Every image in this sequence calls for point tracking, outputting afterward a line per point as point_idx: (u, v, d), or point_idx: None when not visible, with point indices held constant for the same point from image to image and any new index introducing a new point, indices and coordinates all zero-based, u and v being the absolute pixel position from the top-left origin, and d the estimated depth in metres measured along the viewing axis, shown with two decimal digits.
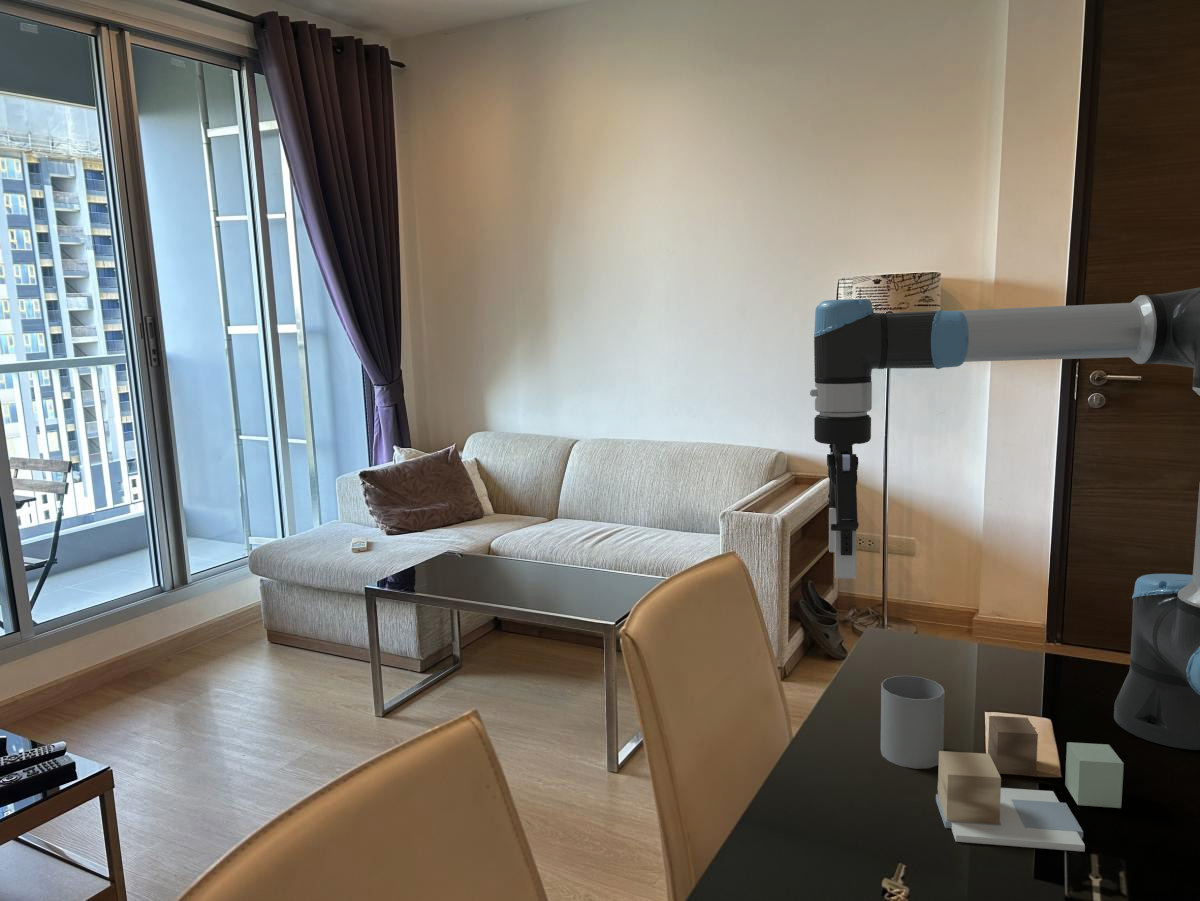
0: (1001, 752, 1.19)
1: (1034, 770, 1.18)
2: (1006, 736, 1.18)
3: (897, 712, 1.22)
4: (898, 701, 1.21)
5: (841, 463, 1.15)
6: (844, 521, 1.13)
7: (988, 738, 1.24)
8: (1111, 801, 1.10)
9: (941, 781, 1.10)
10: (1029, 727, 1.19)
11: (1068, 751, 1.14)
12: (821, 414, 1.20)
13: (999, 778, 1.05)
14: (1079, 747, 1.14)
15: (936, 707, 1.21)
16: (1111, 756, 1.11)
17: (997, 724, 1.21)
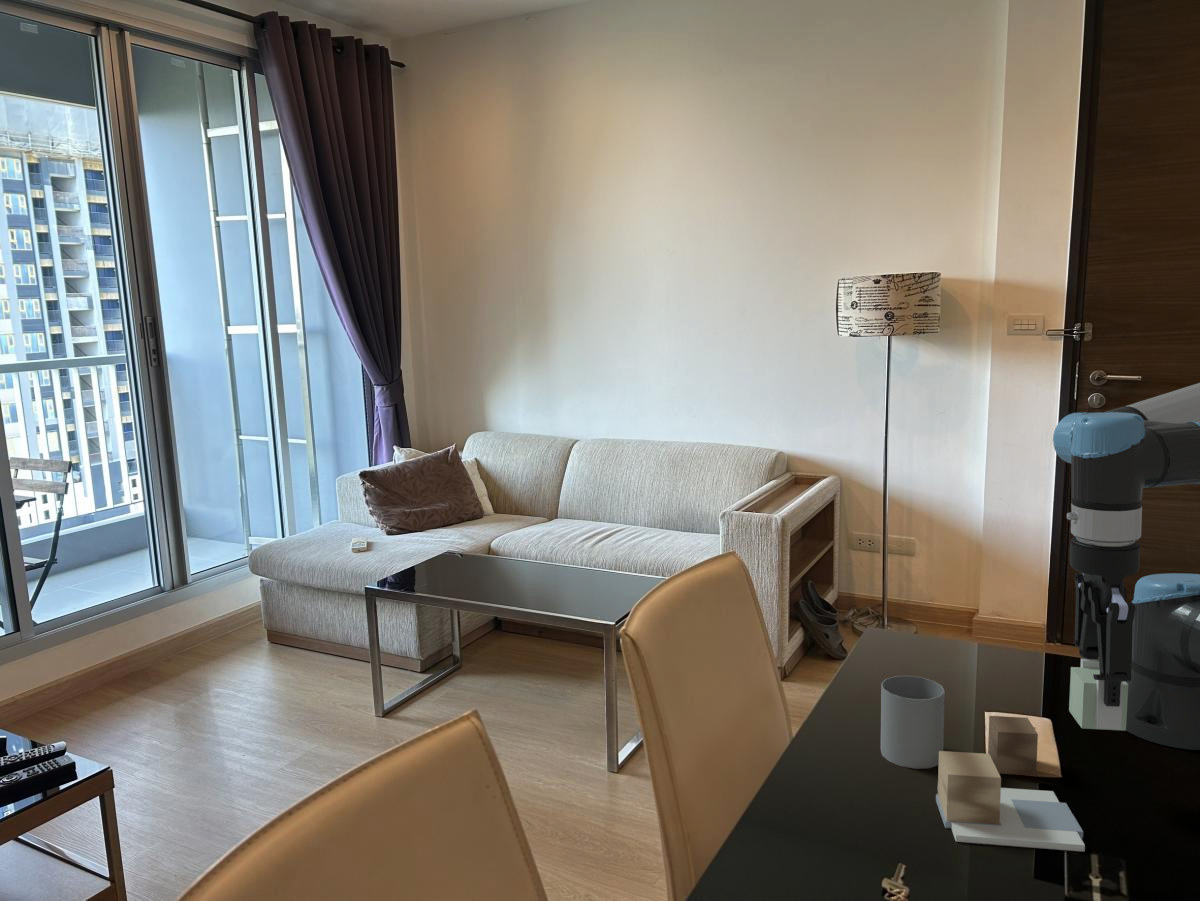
0: (1001, 752, 1.19)
1: (1034, 770, 1.18)
2: (1006, 736, 1.18)
3: (897, 712, 1.22)
4: (898, 702, 1.21)
5: (1117, 614, 1.03)
6: (1115, 673, 1.05)
7: (988, 738, 1.24)
8: None
9: (941, 781, 1.10)
10: (1030, 727, 1.19)
11: (1072, 676, 1.13)
12: (1082, 541, 1.08)
13: (999, 778, 1.05)
14: (1083, 671, 1.12)
15: (936, 707, 1.21)
16: None
17: (997, 724, 1.21)
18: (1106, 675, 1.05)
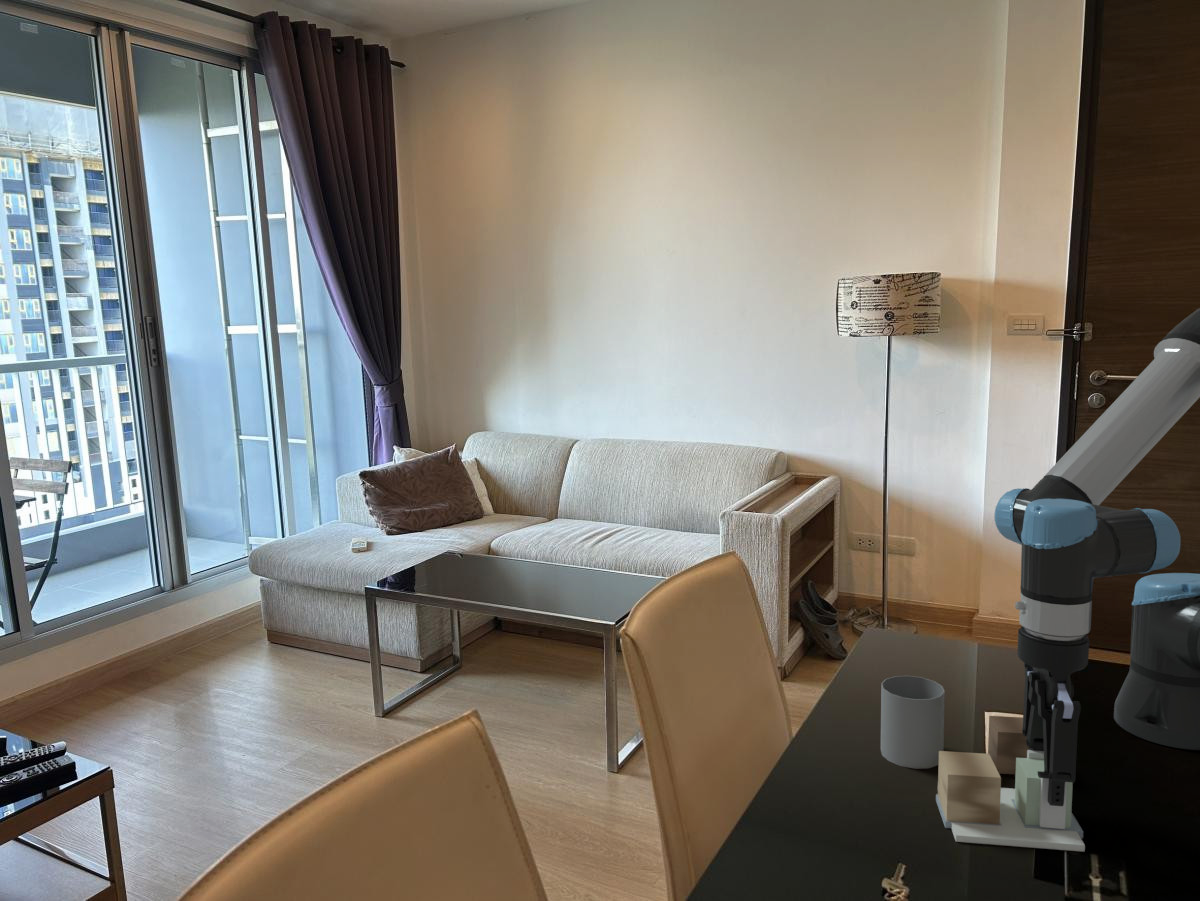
0: (1001, 752, 1.19)
1: None
2: (1006, 736, 1.18)
3: (897, 712, 1.22)
4: (898, 701, 1.21)
5: (1062, 713, 0.99)
6: (1059, 773, 1.01)
7: (988, 738, 1.24)
8: None
9: (941, 781, 1.10)
10: None
11: (1017, 767, 1.09)
12: (1030, 632, 1.04)
13: (999, 778, 1.05)
14: (1028, 763, 1.08)
15: (936, 707, 1.21)
16: None
17: (997, 724, 1.21)
18: (1050, 774, 1.01)
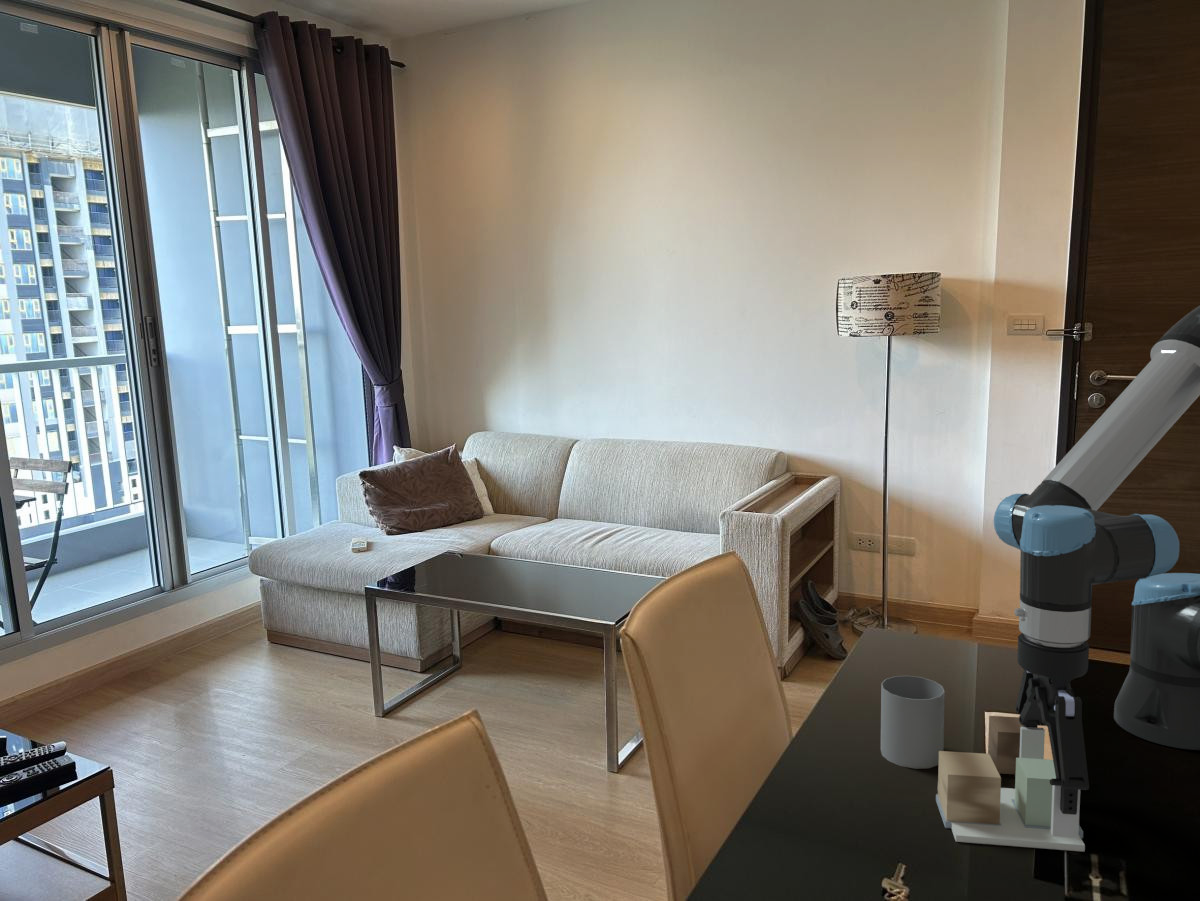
0: (1001, 752, 1.19)
1: None
2: (1006, 736, 1.18)
3: (897, 712, 1.22)
4: (898, 702, 1.21)
5: (1064, 708, 0.99)
6: (1072, 780, 0.97)
7: (988, 738, 1.24)
8: None
9: (941, 781, 1.10)
10: None
11: (1017, 767, 1.09)
12: (1029, 639, 1.04)
13: (999, 778, 1.05)
14: (1028, 763, 1.08)
15: (936, 707, 1.21)
16: None
17: (997, 724, 1.21)
18: (1062, 781, 0.97)
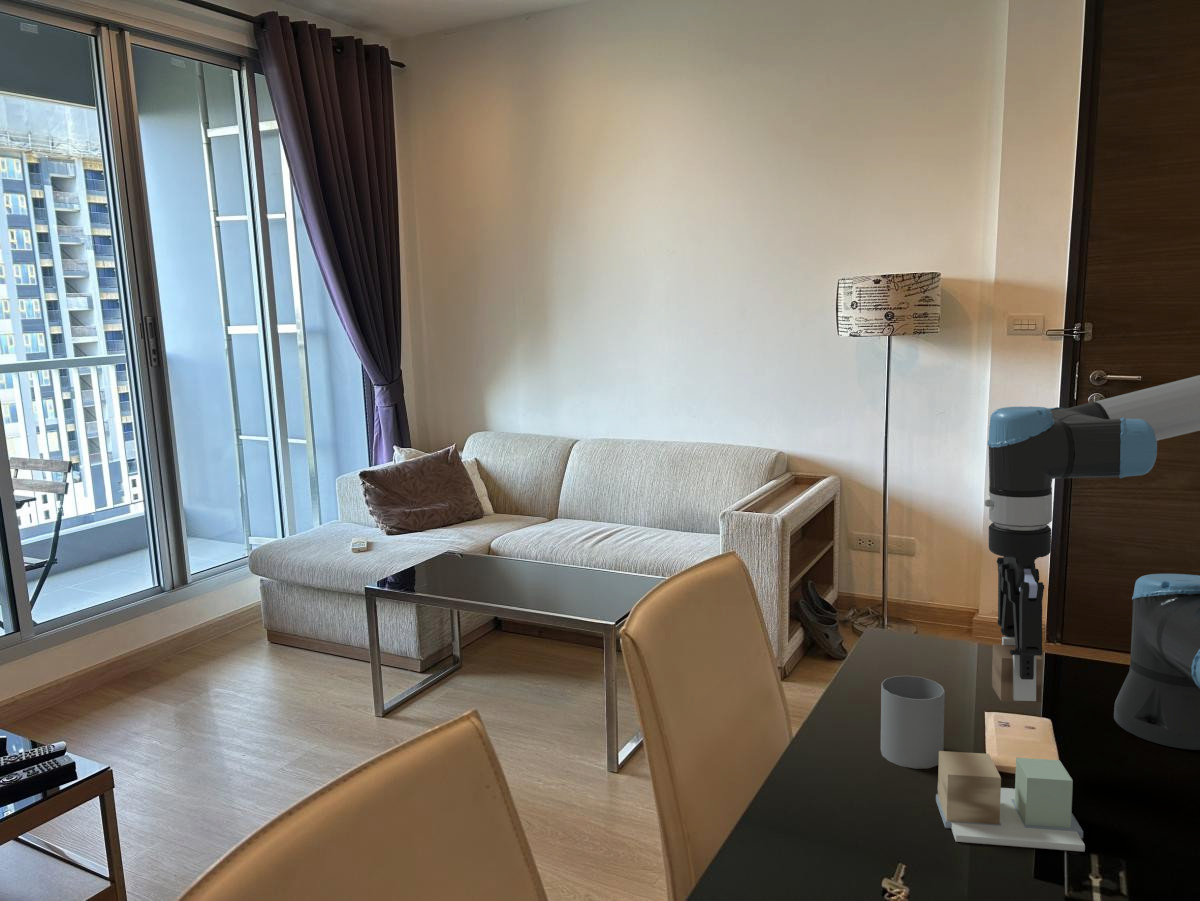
0: (1005, 679, 1.17)
1: (1039, 696, 1.17)
2: (1010, 662, 1.17)
3: (897, 711, 1.22)
4: (898, 701, 1.21)
5: (1027, 593, 1.12)
6: (1028, 648, 1.13)
7: (992, 667, 1.22)
8: (1060, 820, 1.05)
9: (941, 781, 1.10)
10: None
11: (1017, 767, 1.09)
12: (998, 525, 1.16)
13: (999, 778, 1.05)
14: (1028, 763, 1.08)
15: (936, 707, 1.21)
16: (1060, 773, 1.06)
17: (1001, 651, 1.19)
18: (1019, 650, 1.13)
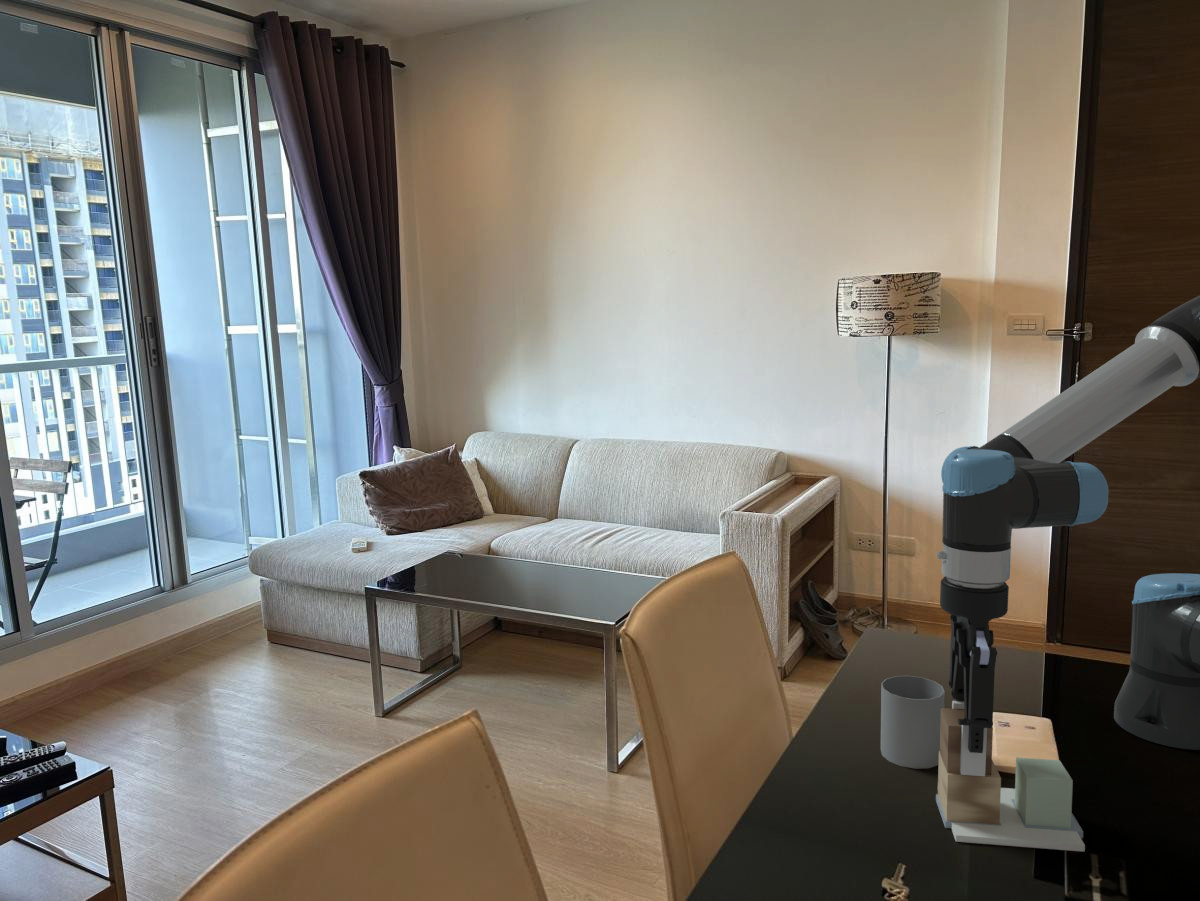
0: (953, 749, 1.06)
1: (989, 769, 1.06)
2: (958, 731, 1.06)
3: (897, 712, 1.22)
4: (898, 701, 1.21)
5: (978, 659, 1.00)
6: (977, 719, 1.02)
7: (940, 733, 1.11)
8: (1060, 820, 1.05)
9: (941, 781, 1.10)
10: None
11: (1017, 767, 1.09)
12: (950, 581, 1.05)
13: (999, 778, 1.05)
14: (1028, 763, 1.08)
15: (936, 707, 1.21)
16: (1060, 773, 1.06)
17: (949, 717, 1.08)
18: (968, 721, 1.02)
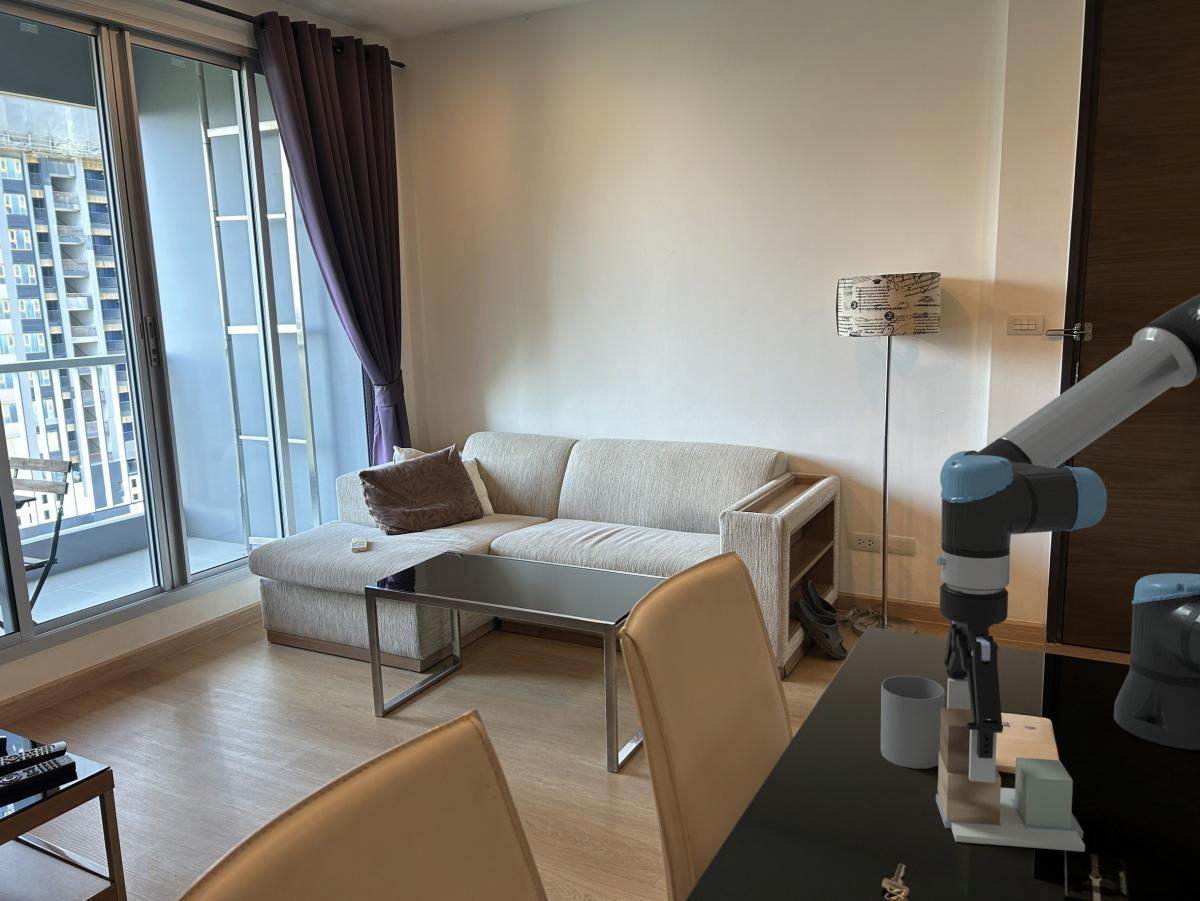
0: (953, 749, 1.06)
1: None
2: (958, 731, 1.06)
3: (897, 711, 1.22)
4: (898, 701, 1.21)
5: (980, 652, 1.00)
6: (986, 723, 0.98)
7: (940, 733, 1.11)
8: (1060, 820, 1.05)
9: (941, 781, 1.10)
10: None
11: (1017, 767, 1.09)
12: (950, 587, 1.05)
13: (999, 778, 1.05)
14: (1028, 763, 1.08)
15: (936, 707, 1.21)
16: (1060, 773, 1.06)
17: (949, 717, 1.08)
18: (977, 725, 0.98)
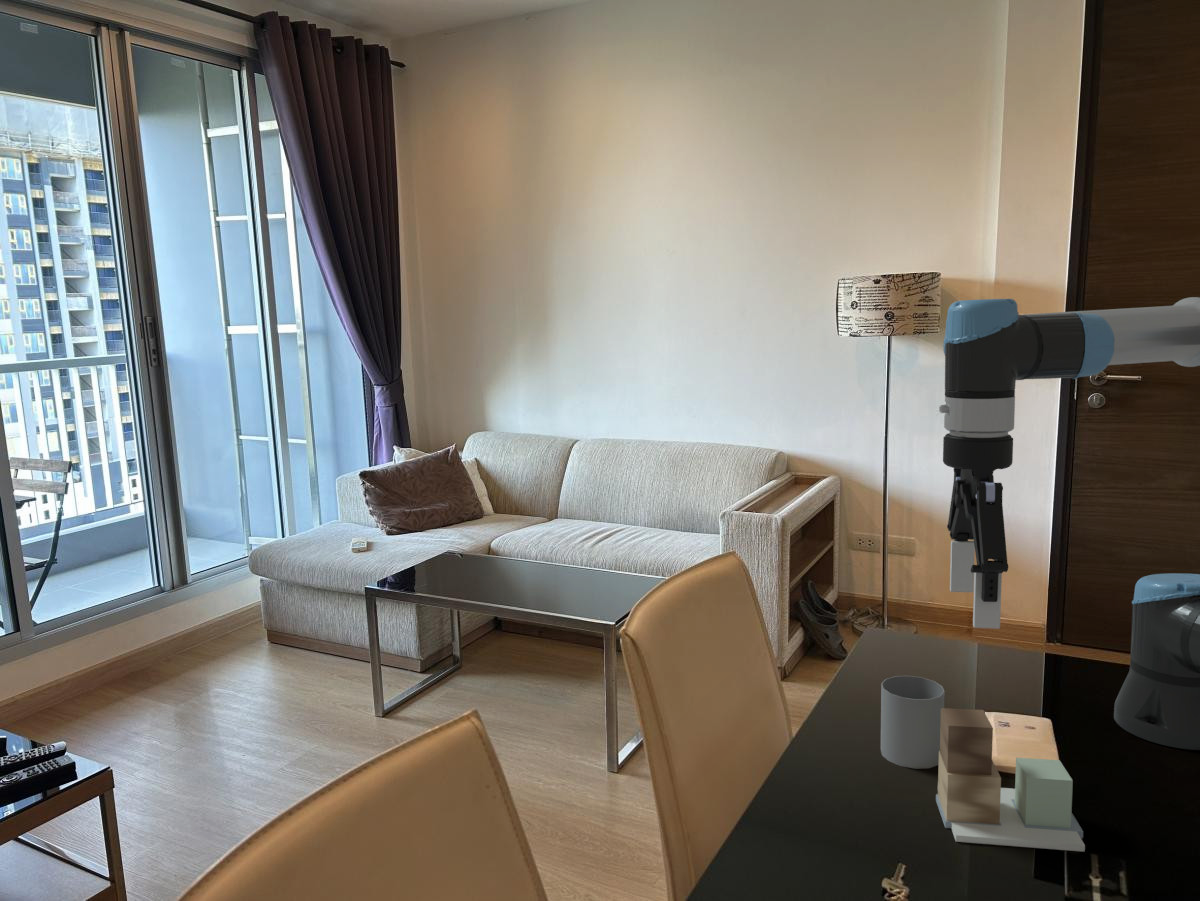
0: (953, 749, 1.06)
1: (989, 768, 1.06)
2: (958, 731, 1.06)
3: (897, 712, 1.22)
4: (898, 701, 1.21)
5: (984, 493, 0.97)
6: (991, 562, 0.95)
7: (940, 733, 1.11)
8: (1060, 820, 1.05)
9: (941, 781, 1.10)
10: (984, 721, 1.07)
11: (1017, 767, 1.09)
12: (954, 434, 1.02)
13: (999, 778, 1.05)
14: (1028, 763, 1.08)
15: (936, 707, 1.21)
16: (1060, 773, 1.06)
17: (949, 717, 1.08)
18: (981, 565, 0.96)
